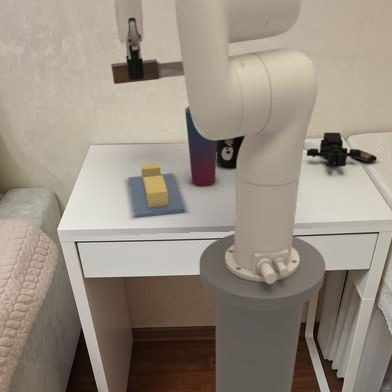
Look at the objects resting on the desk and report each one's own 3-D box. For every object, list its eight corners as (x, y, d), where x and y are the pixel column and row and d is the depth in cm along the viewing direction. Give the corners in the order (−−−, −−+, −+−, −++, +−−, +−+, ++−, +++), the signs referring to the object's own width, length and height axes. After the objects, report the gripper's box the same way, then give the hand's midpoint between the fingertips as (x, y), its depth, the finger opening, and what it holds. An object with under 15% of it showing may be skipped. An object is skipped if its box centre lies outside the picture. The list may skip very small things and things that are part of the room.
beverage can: (213, 167, 116) (212, 112, 108) (221, 157, 120) (221, 103, 112) (240, 170, 114) (242, 114, 106) (247, 159, 119) (249, 105, 111)
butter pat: (161, 180, 109) (160, 167, 107) (143, 182, 108) (141, 169, 106) (159, 176, 111) (158, 162, 109) (142, 178, 110) (140, 164, 108)
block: (366, 165, 114) (367, 157, 113) (348, 157, 118) (349, 149, 117) (377, 161, 115) (379, 153, 114) (359, 153, 119) (360, 146, 118)
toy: (310, 154, 108) (306, 128, 118) (307, 175, 111) (304, 148, 122) (367, 155, 106) (358, 129, 117) (362, 177, 110) (354, 149, 120)
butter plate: (184, 212, 99) (184, 208, 99) (134, 217, 98) (134, 213, 98) (172, 176, 112) (172, 172, 112) (128, 180, 111) (127, 177, 111)
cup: (223, 177, 111) (224, 105, 101) (211, 189, 106) (210, 115, 96) (196, 173, 113) (193, 102, 103) (182, 185, 109) (179, 112, 99)
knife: (113, 81, 111) (111, 63, 109) (197, 72, 113) (196, 54, 111) (114, 84, 109) (111, 66, 107) (198, 75, 111) (198, 57, 109)
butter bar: (168, 205, 100) (167, 191, 98) (148, 207, 99) (147, 193, 97) (163, 189, 106) (162, 175, 104) (144, 190, 105) (143, 177, 103)
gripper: (105, -30, 104) (117, 69, 116) (108, -21, 92) (121, 88, 104) (141, -31, 104) (149, 67, 117) (149, -23, 93) (157, 85, 105)
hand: (136, 76), depth 110 cm, fingers closed on knife, 2 cm apart
